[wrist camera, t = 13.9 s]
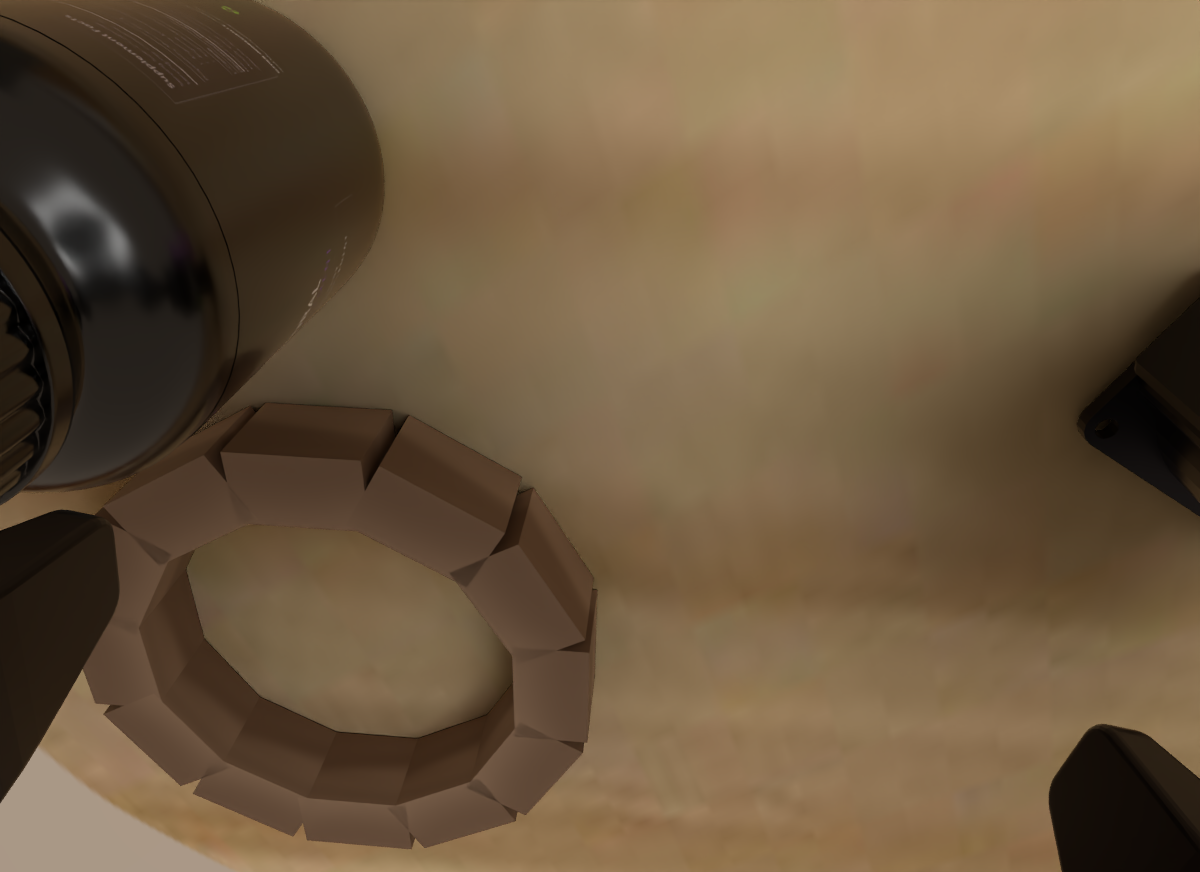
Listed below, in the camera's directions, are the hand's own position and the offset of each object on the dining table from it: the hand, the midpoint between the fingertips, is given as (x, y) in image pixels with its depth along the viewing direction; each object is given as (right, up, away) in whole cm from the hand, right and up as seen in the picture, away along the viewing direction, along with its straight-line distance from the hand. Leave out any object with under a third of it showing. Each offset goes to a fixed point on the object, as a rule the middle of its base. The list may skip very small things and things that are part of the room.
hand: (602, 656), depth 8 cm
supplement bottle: (-8, +8, +11) cm, 16 cm away
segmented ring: (-7, -3, +17) cm, 19 cm away
